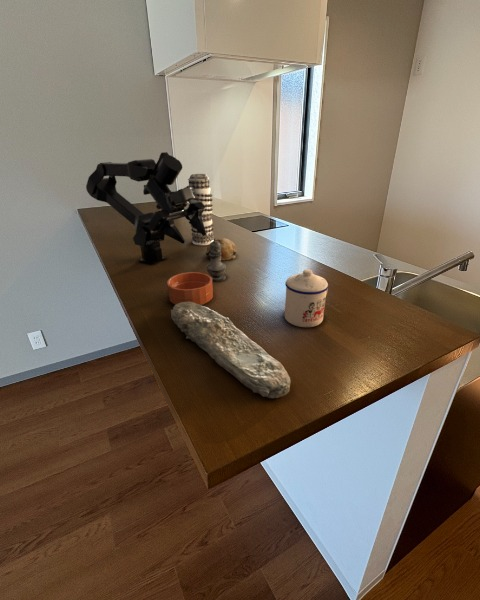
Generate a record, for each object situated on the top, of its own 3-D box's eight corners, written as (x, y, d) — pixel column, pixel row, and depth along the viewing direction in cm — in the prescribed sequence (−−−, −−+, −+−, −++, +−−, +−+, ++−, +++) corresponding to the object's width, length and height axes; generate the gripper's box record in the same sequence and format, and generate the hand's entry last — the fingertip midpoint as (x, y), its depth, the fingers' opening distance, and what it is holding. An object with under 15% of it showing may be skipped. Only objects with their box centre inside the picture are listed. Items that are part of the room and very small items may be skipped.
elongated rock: (259, 420, 48) (303, 393, 54) (262, 394, 46) (308, 369, 52) (159, 317, 72) (197, 306, 78) (157, 297, 70) (197, 287, 75)
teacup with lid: (305, 333, 67) (310, 283, 62) (275, 316, 73) (277, 269, 68) (339, 315, 74) (347, 268, 68) (309, 301, 80) (313, 257, 75)
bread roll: (227, 271, 107) (237, 251, 103) (200, 257, 107) (208, 237, 103) (233, 261, 116) (242, 242, 112) (208, 248, 115) (216, 229, 111)
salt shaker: (206, 282, 91) (203, 241, 86) (207, 274, 96) (204, 235, 91) (226, 281, 91) (225, 241, 86) (226, 273, 97) (225, 235, 91)
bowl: (160, 301, 81) (157, 283, 78) (189, 285, 89) (187, 269, 87) (194, 313, 75) (192, 294, 73) (221, 294, 84) (220, 277, 81)
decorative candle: (186, 242, 125) (180, 174, 114) (203, 237, 131) (199, 172, 120) (202, 247, 120) (197, 176, 108) (219, 241, 126) (216, 174, 114)
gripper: (149, 180, 81) (185, 229, 80) (198, 173, 94) (229, 214, 94) (134, 208, 88) (167, 253, 88) (181, 198, 102) (210, 237, 101)
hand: (195, 238), depth 93 cm, fingers open, 9 cm apart
